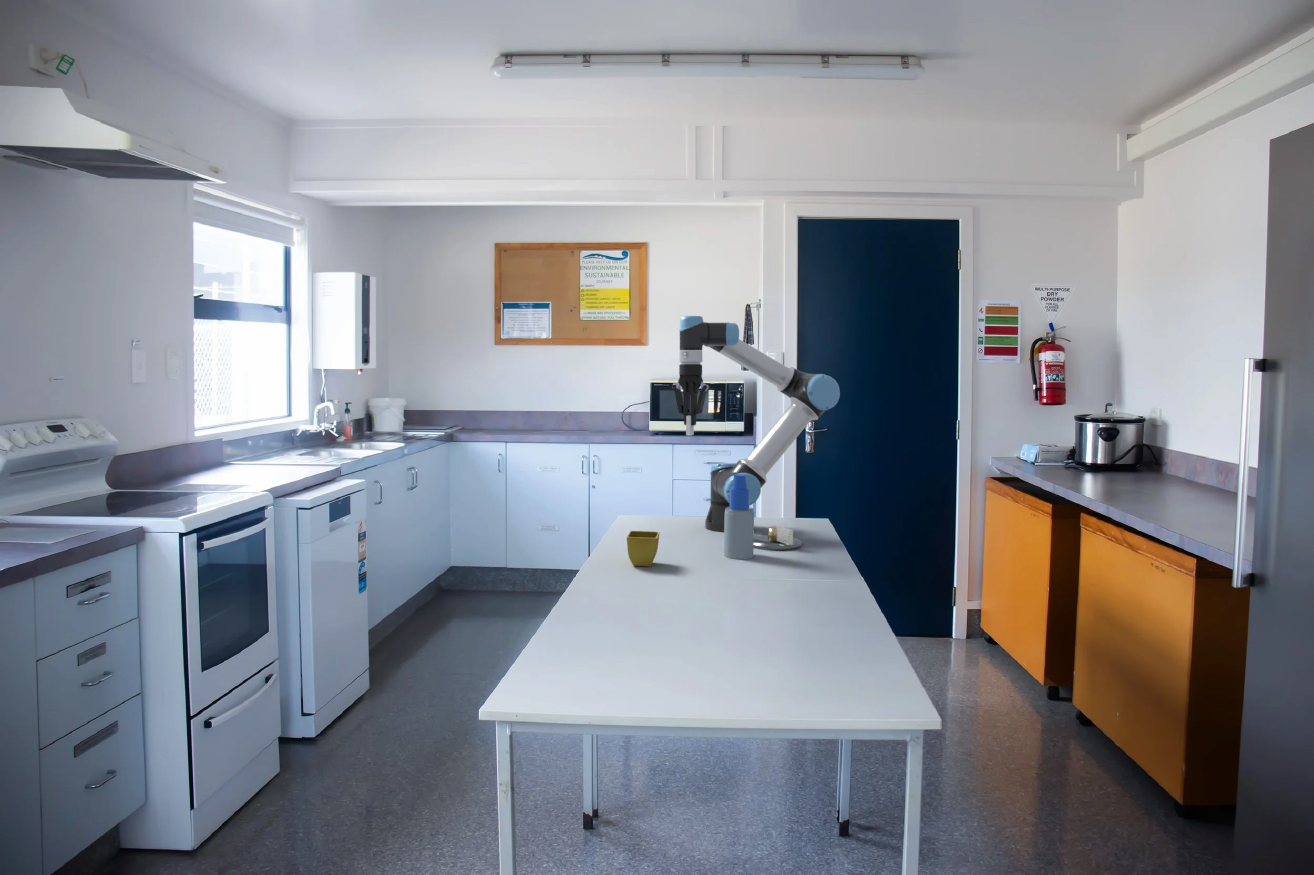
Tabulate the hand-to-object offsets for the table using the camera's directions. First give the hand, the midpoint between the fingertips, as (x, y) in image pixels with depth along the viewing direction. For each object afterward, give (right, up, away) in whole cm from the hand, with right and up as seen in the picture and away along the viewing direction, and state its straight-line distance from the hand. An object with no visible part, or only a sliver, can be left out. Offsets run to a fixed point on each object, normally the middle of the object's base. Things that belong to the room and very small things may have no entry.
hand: (689, 435), depth 267 cm
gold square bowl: (-15, -38, -32) cm, 52 cm away
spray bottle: (+14, -37, -21) cm, 45 cm away
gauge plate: (+27, -35, -6) cm, 45 cm away
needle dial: (+29, -34, -9) cm, 45 cm away
